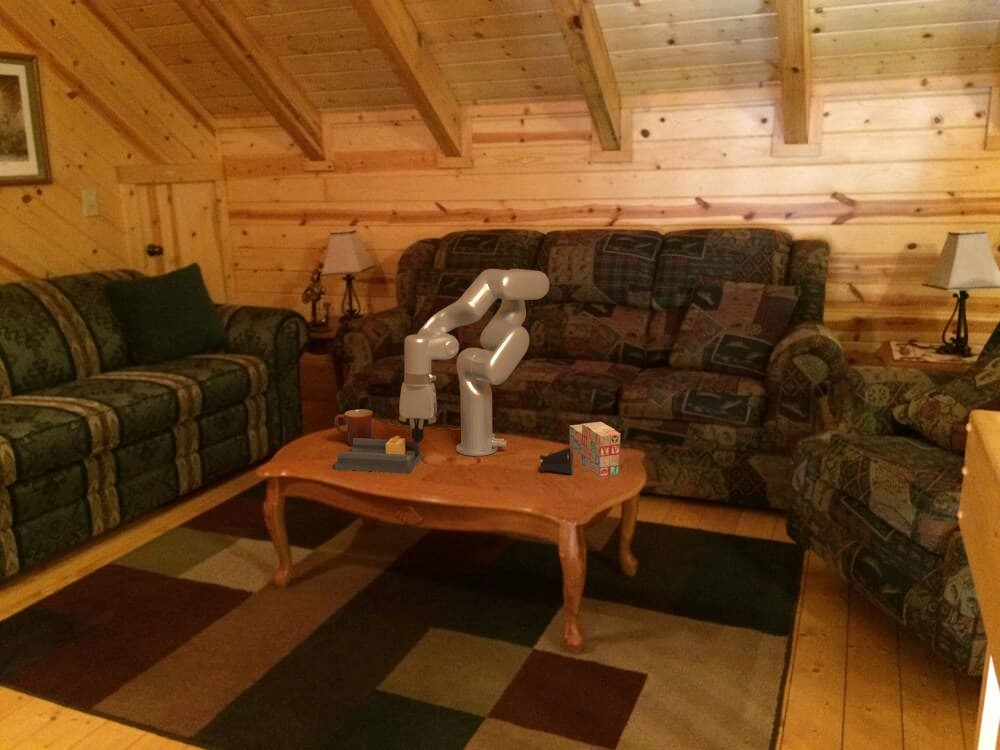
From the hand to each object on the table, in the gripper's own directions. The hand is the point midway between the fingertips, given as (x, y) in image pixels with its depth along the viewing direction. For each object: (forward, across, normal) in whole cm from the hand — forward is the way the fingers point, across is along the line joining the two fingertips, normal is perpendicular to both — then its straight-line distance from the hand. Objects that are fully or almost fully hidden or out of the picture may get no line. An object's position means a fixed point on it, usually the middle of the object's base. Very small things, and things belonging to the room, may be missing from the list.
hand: (417, 441), depth 243 cm
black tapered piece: (+7, -40, -7) cm, 41 cm away
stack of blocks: (+7, -50, -10) cm, 51 cm away
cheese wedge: (+6, +7, -1) cm, 9 cm away
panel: (+8, +12, -1) cm, 14 cm away
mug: (+8, +25, -18) cm, 32 cm away
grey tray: (+6, +12, -1) cm, 13 cm away
